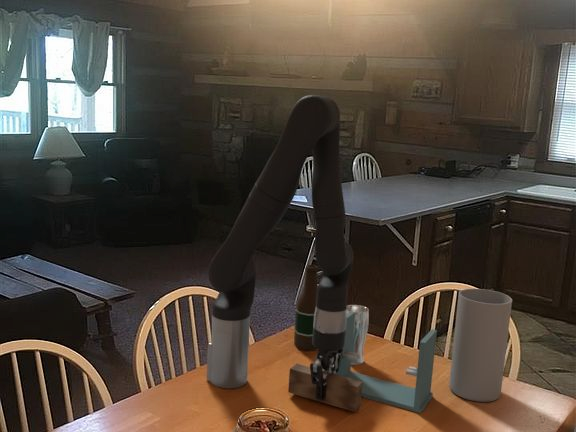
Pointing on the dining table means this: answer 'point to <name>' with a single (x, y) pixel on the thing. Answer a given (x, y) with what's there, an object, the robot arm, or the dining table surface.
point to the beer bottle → (306, 311)
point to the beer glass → (359, 330)
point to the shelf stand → (388, 390)
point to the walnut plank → (337, 388)
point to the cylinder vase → (480, 344)
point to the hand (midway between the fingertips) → (324, 395)
